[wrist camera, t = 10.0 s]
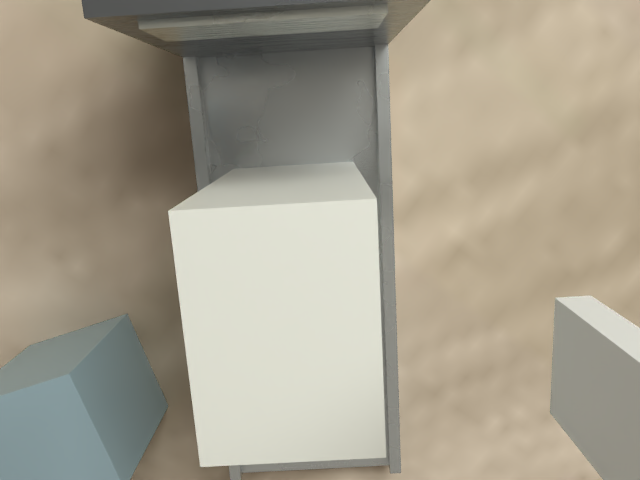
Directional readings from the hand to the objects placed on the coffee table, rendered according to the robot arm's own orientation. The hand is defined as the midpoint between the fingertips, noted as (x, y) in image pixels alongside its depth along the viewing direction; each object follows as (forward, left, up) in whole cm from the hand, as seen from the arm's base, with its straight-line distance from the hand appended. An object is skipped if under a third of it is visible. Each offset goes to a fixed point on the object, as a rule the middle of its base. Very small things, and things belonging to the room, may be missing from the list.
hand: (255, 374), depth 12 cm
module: (0, 0, -12) cm, 12 cm away
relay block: (-10, -6, -13) cm, 17 cm away
